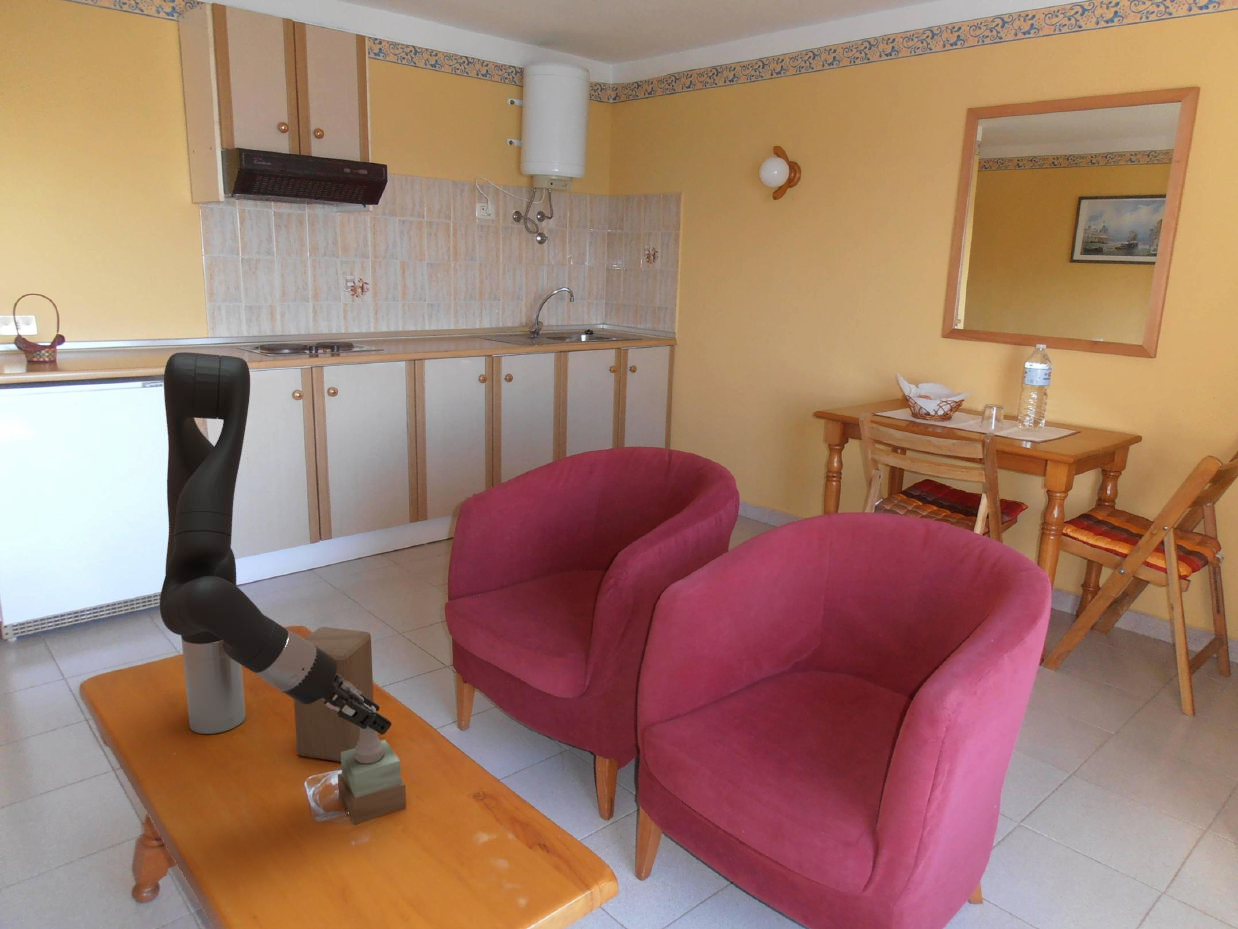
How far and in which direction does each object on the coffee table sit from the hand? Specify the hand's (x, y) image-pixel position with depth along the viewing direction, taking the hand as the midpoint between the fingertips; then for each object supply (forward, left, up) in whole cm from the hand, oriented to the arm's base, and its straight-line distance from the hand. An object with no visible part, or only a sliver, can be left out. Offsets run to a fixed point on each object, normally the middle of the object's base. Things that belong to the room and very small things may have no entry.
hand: (380, 720), depth 132 cm
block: (-19, -2, -14) cm, 24 cm away
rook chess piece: (0, -2, -6) cm, 6 cm away
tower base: (0, -2, -14) cm, 14 cm away
